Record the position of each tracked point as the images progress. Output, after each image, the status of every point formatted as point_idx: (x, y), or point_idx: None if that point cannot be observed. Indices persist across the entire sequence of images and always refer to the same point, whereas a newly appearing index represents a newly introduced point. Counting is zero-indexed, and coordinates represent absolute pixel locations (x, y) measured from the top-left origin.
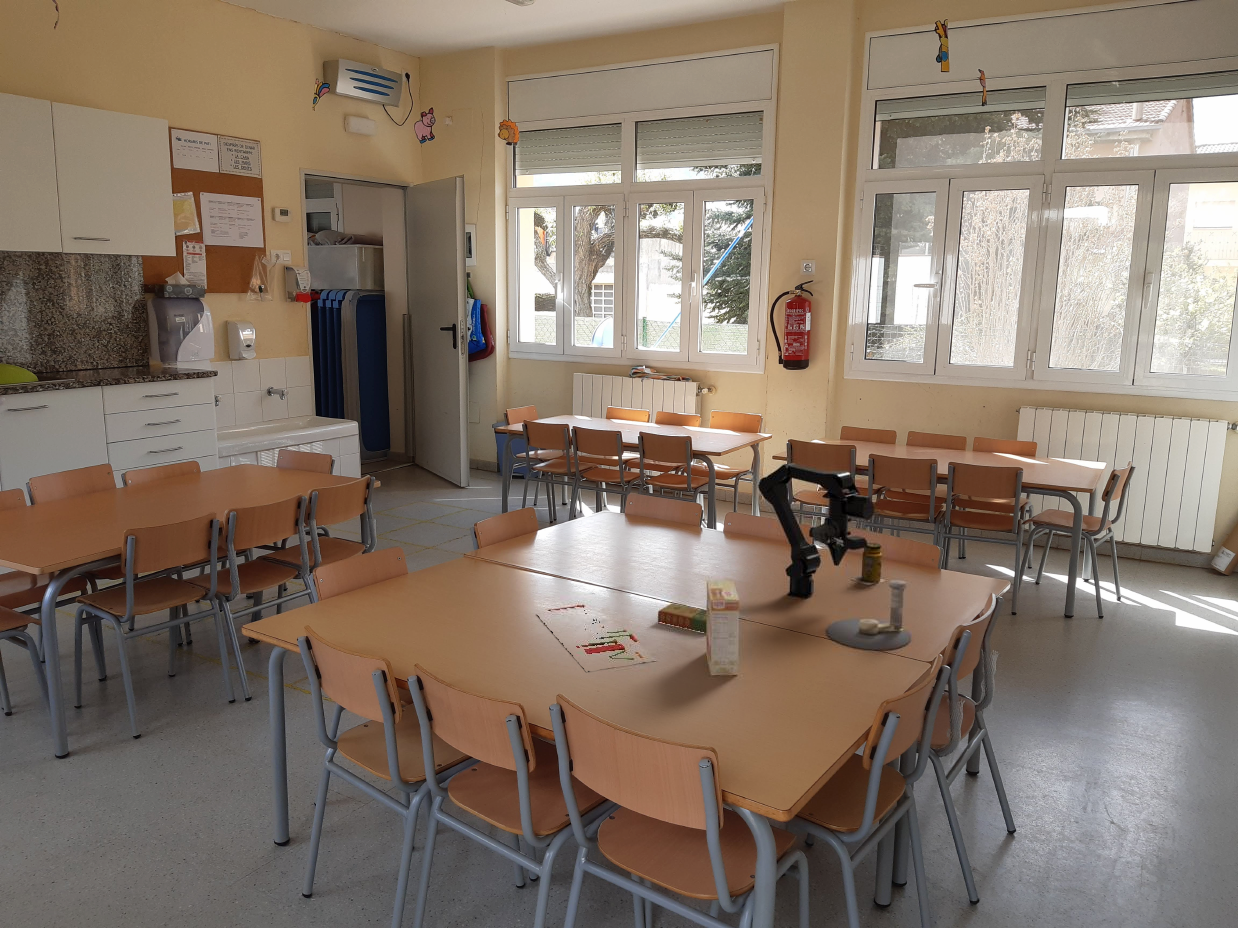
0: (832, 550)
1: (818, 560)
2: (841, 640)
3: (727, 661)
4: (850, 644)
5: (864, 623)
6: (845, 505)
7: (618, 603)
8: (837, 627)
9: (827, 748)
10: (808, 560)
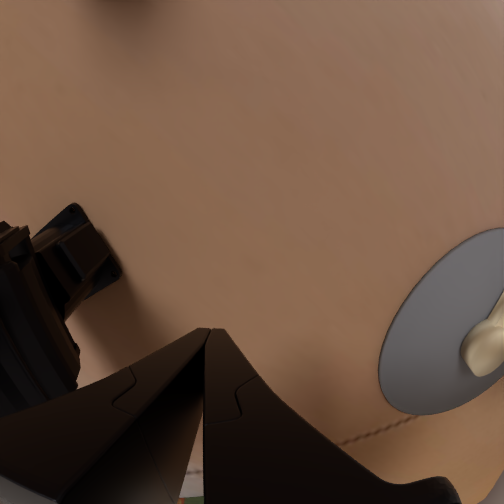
0: (178, 494)
1: (15, 299)
2: (445, 408)
3: None
4: (465, 402)
5: (486, 370)
6: None
7: None
8: (407, 382)
9: (492, 479)
10: (48, 396)
